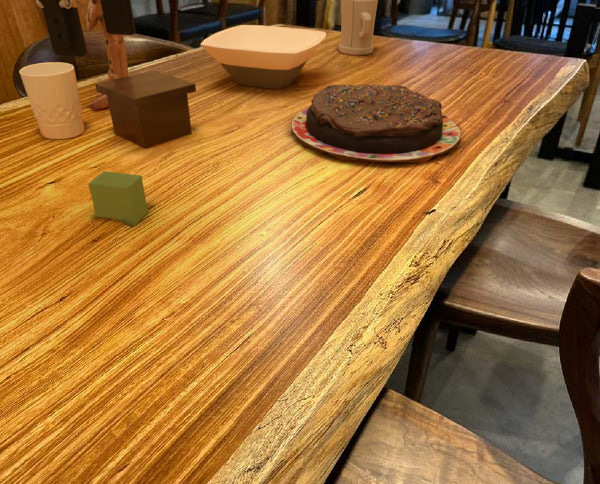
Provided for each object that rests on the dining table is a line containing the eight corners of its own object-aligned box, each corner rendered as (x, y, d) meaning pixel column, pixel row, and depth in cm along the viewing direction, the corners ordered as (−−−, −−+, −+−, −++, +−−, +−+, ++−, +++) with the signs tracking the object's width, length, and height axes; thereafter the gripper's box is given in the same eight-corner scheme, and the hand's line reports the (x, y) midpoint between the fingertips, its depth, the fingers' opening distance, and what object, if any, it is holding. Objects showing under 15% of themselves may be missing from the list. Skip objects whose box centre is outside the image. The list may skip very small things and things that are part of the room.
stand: (105, 134, 88) (95, 83, 83) (161, 117, 95) (154, 70, 90) (144, 152, 82) (134, 99, 77) (200, 133, 89) (195, 83, 84)
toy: (97, 221, 65) (87, 183, 62) (111, 207, 68) (103, 170, 65) (135, 226, 64) (127, 188, 61) (148, 212, 67) (141, 175, 64)
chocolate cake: (478, 169, 79) (488, 125, 75) (287, 166, 79) (287, 121, 75) (441, 107, 101) (447, 71, 97) (293, 105, 101) (293, 68, 97)
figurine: (103, 93, 106) (79, -25, 93) (143, 95, 105) (124, -23, 93) (78, 110, 97) (48, -17, 85) (122, 113, 96) (98, -15, 84)
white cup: (69, 121, 93) (53, 59, 87) (98, 130, 89) (84, 67, 83) (28, 134, 88) (8, 69, 82) (57, 145, 84) (39, 78, 78)
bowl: (301, 102, 103) (302, 54, 97) (194, 89, 108) (189, 44, 103) (333, 72, 119) (334, 31, 114) (238, 63, 125) (236, 23, 120)
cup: (385, 52, 135) (391, -2, 127) (364, 59, 129) (369, 3, 122) (352, 45, 140) (355, -7, 133) (330, 51, 135) (333, -3, 127)
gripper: (68, -174, 51) (107, 25, 61) (-70, -198, 37) (10, 62, 48) (141, -175, 50) (168, 28, 60) (25, -201, 36) (86, 67, 46)
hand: (98, 43), depth 54 cm, fingers open, 9 cm apart
